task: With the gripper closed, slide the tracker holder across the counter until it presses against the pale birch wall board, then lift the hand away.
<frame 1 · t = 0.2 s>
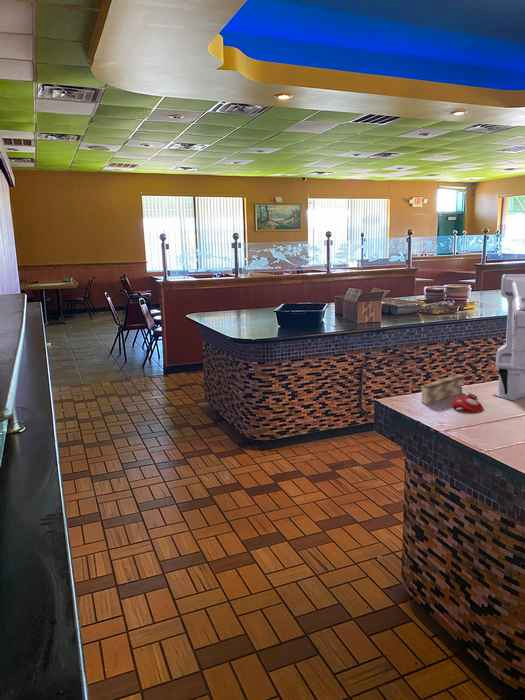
hand: (519, 394, 161), 10 cm above the countertop, tool pointing down, fingers open, 7 cm apart
tracker holder: (470, 408, 181), on the countertop
wall board: (442, 397, 192), on the countertop
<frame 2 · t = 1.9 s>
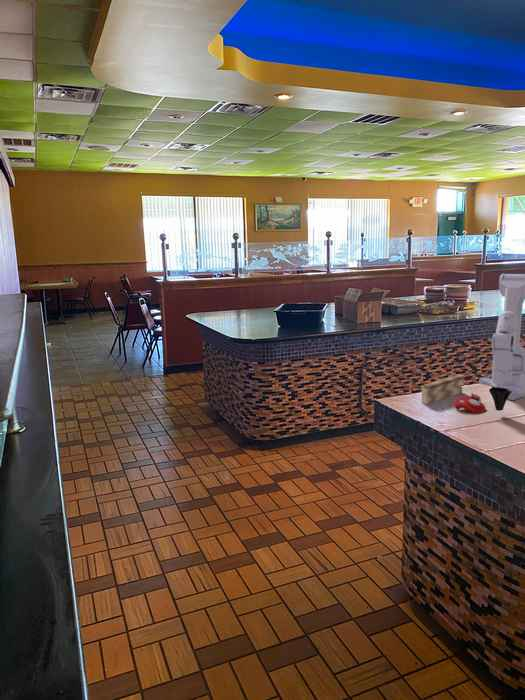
hand: (499, 409, 172), 2 cm above the countertop, tool pointing down, fingers closed
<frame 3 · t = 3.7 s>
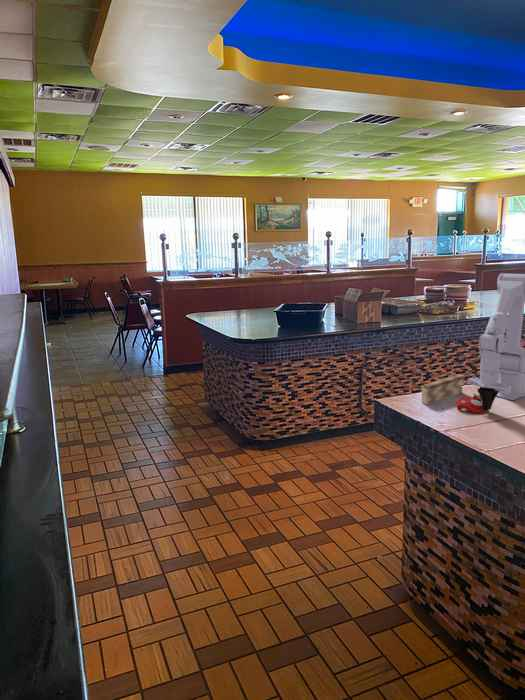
hand: (487, 409, 176), 1 cm above the countertop, tool pointing down, fingers closed
tracker holder: (474, 409, 180), on the countertop, touching gripper
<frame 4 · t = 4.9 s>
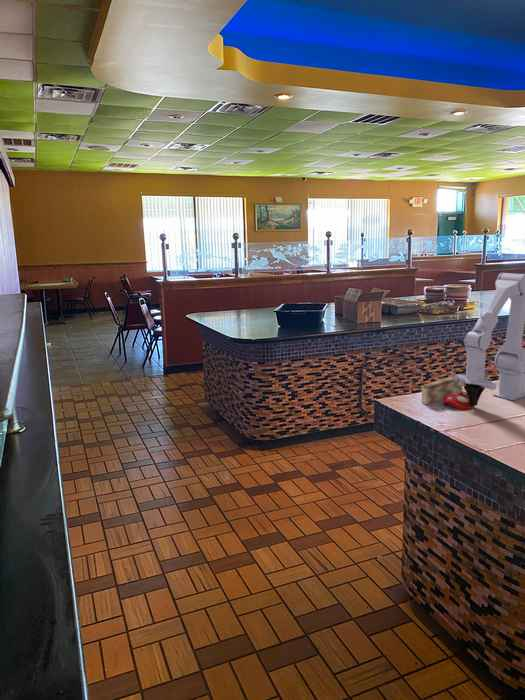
hand: (473, 405, 180), 1 cm above the countertop, tool pointing down, fingers closed
tracker holder: (461, 405, 184), on the countertop, touching gripper
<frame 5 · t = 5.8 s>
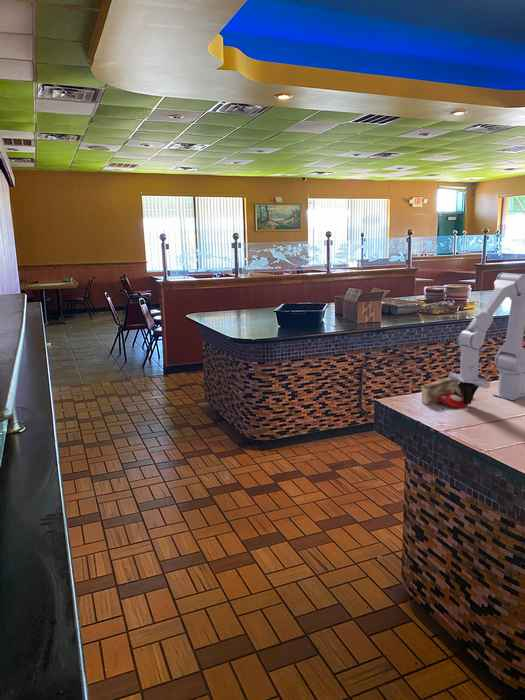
hand: (467, 403, 182), 1 cm above the countertop, tool pointing down, fingers closed
tracker holder: (454, 404, 186), on the countertop
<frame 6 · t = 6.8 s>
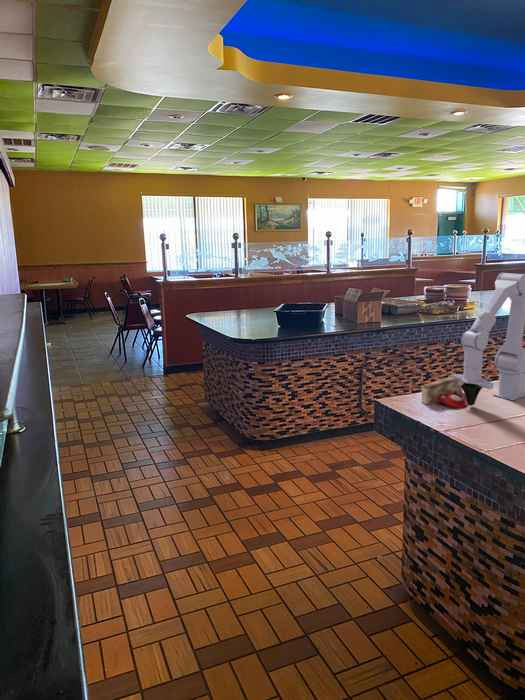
hand: (470, 404, 181), 1 cm above the countertop, tool pointing down, fingers closed
nothing on the countertop moved.
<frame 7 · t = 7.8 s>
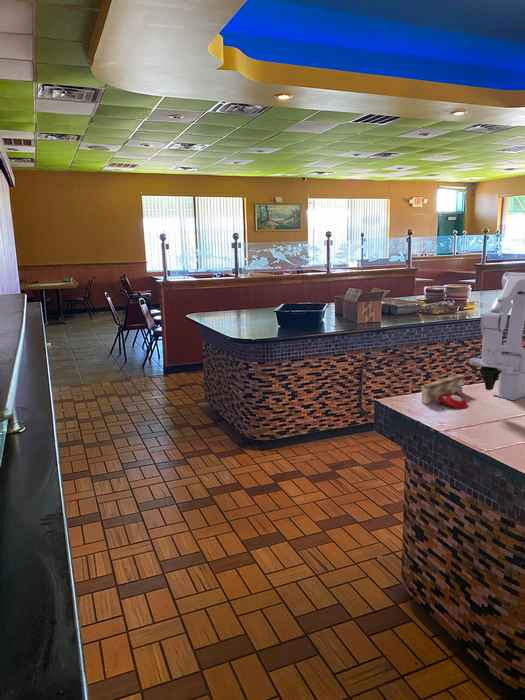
hand: (489, 389, 174), 8 cm above the countertop, tool pointing down, fingers closed
nothing on the countertop moved.
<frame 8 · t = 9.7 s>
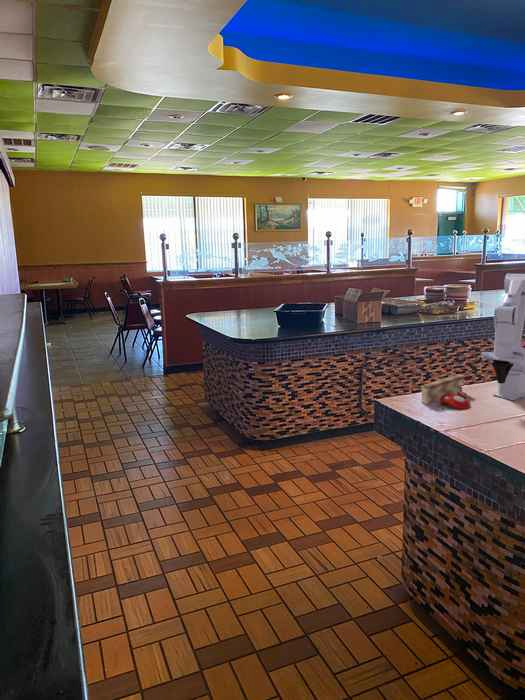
hand: (501, 382, 176), 9 cm above the countertop, tool pointing down, fingers closed
at the end: tracker holder inside the target area (2.0 cm from its centre), on the countertop; tracker holder moved 4.2 cm from its start; tracker holder tilted 0° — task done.
